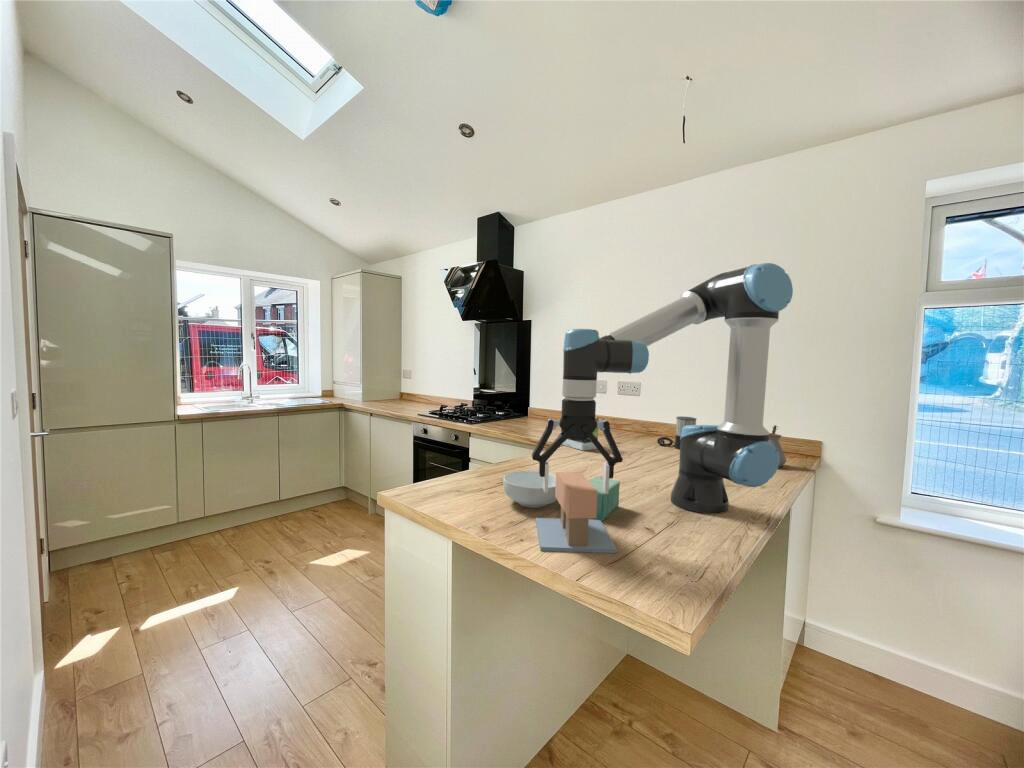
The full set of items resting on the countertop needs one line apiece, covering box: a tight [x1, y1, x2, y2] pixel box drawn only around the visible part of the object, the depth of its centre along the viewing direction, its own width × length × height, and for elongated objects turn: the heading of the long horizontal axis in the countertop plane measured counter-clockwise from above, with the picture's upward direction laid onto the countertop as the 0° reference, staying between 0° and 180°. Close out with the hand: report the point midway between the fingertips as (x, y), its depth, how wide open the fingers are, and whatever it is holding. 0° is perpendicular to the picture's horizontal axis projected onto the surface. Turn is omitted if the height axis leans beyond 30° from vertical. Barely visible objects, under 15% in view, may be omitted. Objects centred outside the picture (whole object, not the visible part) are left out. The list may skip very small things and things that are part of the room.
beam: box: [555, 471, 598, 519], centre depth 95 cm, size 6×14×6 cm, turn 6°
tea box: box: [560, 416, 600, 451], centre depth 194 cm, size 15×10×15 cm
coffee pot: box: [769, 424, 787, 468], centre depth 174 cm, size 21×12×15 cm, turn 143°
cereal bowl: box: [502, 470, 558, 509], centre depth 116 cm, size 17×17×7 cm
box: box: [588, 476, 621, 522], centre depth 112 cm, size 7×14×8 cm, turn 148°
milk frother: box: [656, 416, 697, 450], centre depth 202 cm, size 14×16×15 cm
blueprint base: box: [535, 506, 618, 554], centre depth 95 cm, size 16×16×7 cm
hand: (575, 491), depth 95 cm, fingers open, 13 cm apart
